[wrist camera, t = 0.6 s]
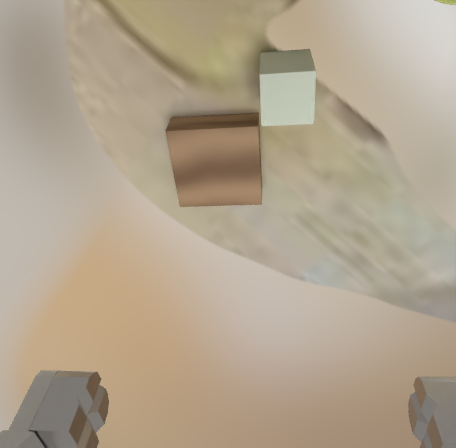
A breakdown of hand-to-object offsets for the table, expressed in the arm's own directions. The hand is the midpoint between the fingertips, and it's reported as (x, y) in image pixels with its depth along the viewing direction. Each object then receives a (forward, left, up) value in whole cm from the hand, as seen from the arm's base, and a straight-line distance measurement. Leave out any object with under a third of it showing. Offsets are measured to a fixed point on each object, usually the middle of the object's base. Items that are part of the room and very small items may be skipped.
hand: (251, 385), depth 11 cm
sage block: (+5, +2, -39) cm, 40 cm away
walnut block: (+14, -6, -40) cm, 42 cm away
